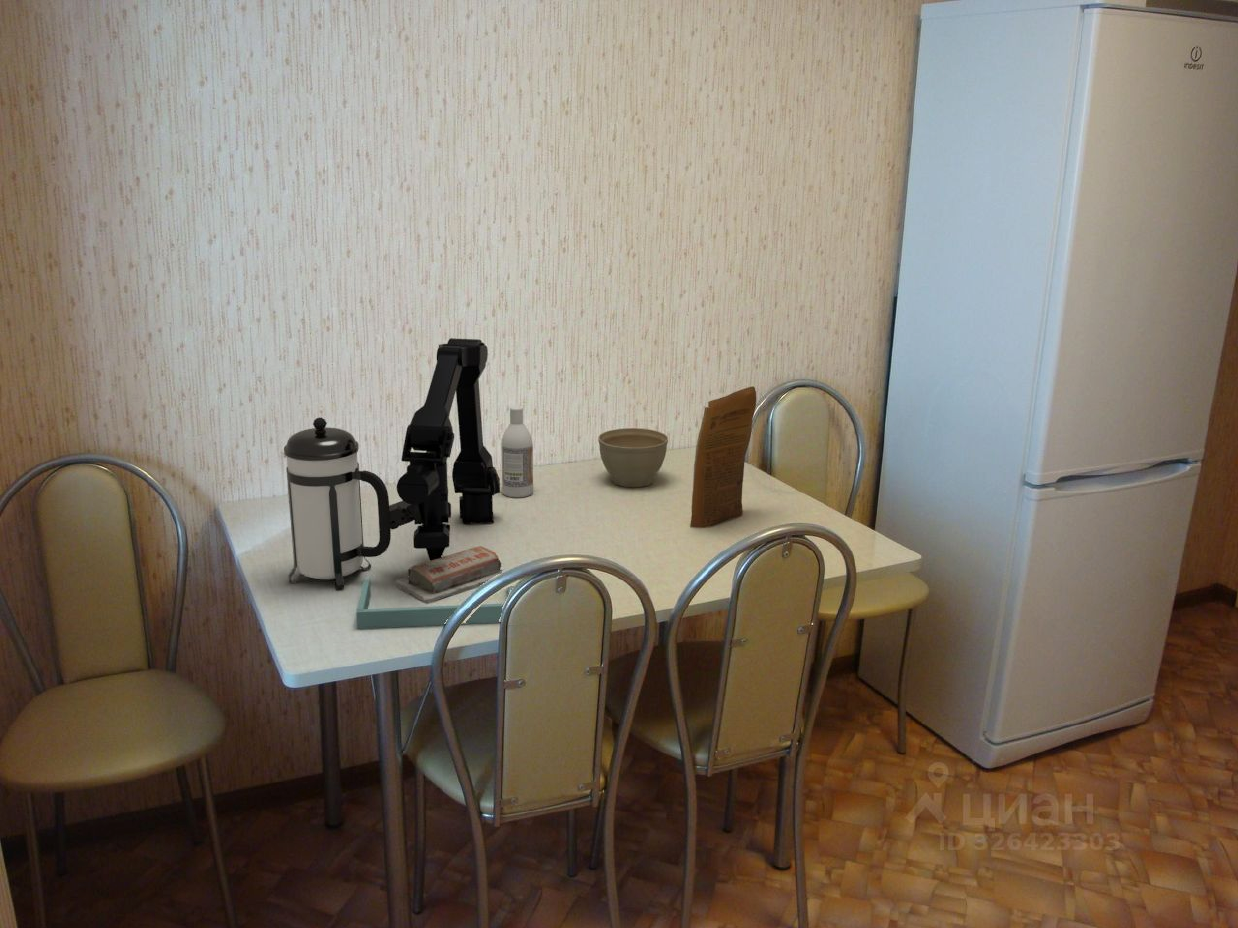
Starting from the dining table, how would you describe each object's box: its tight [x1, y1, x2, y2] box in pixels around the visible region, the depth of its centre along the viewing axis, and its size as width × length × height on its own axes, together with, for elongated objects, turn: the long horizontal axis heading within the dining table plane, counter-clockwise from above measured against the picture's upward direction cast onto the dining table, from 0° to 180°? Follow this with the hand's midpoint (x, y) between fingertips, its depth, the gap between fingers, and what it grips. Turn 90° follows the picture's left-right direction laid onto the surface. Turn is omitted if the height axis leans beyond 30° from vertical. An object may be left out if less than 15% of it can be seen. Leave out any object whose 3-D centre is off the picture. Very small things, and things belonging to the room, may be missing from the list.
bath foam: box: [500, 405, 534, 499], centre depth 242 cm, size 7×7×20 cm
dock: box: [355, 578, 515, 630], centre depth 186 cm, size 26×14×3 cm, turn 97°
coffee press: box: [283, 417, 392, 591], centre depth 195 cm, size 17×16×30 cm
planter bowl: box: [597, 427, 669, 488], centre depth 253 cm, size 16×16×11 cm
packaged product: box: [395, 546, 504, 604], centre depth 197 cm, size 18×5×10 cm
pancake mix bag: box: [689, 386, 757, 529], centre depth 227 cm, size 7×19×28 cm, turn 134°
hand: (434, 566), depth 201 cm, fingers closed
